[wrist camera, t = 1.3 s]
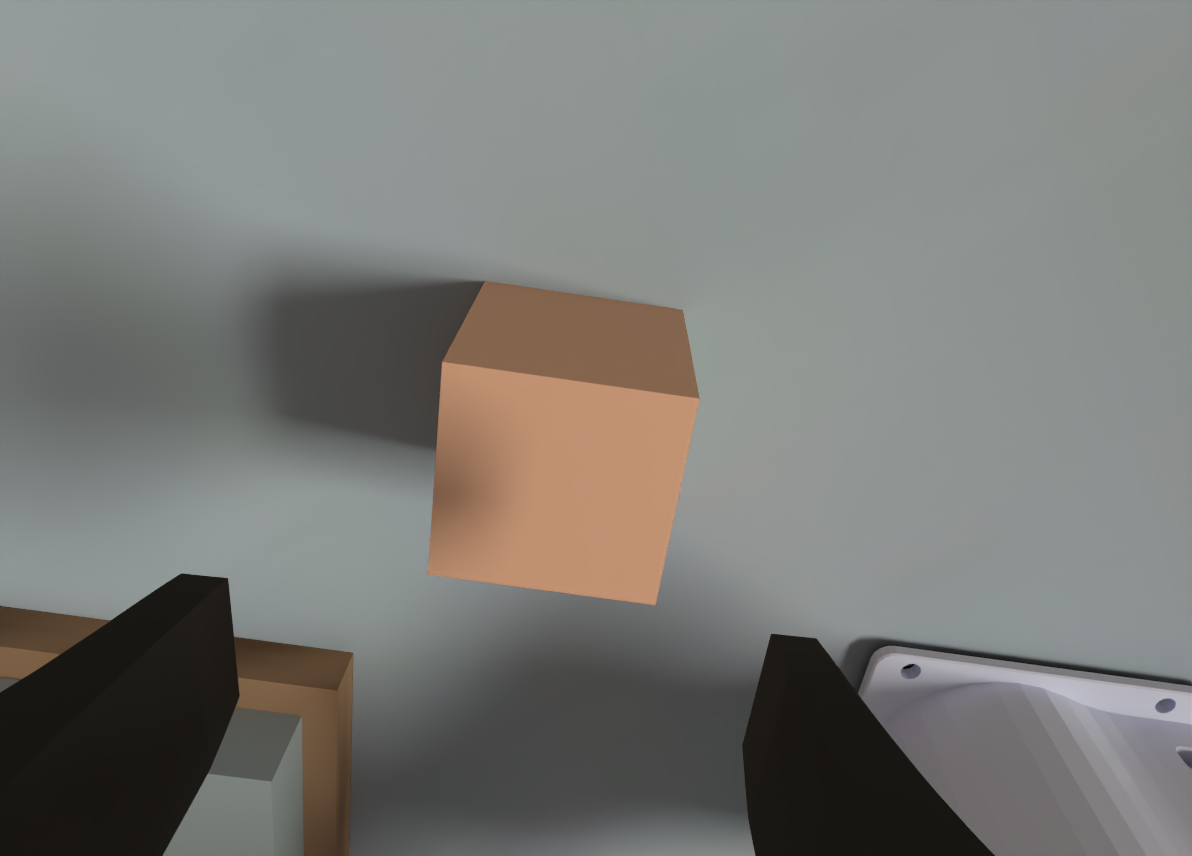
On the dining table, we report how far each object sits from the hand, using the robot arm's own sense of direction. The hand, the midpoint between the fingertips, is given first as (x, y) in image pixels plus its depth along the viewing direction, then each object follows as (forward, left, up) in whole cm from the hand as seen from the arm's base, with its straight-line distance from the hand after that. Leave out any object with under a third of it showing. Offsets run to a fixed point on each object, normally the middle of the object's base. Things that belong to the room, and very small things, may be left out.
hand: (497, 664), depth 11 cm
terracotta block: (0, 0, -10) cm, 10 cm away
